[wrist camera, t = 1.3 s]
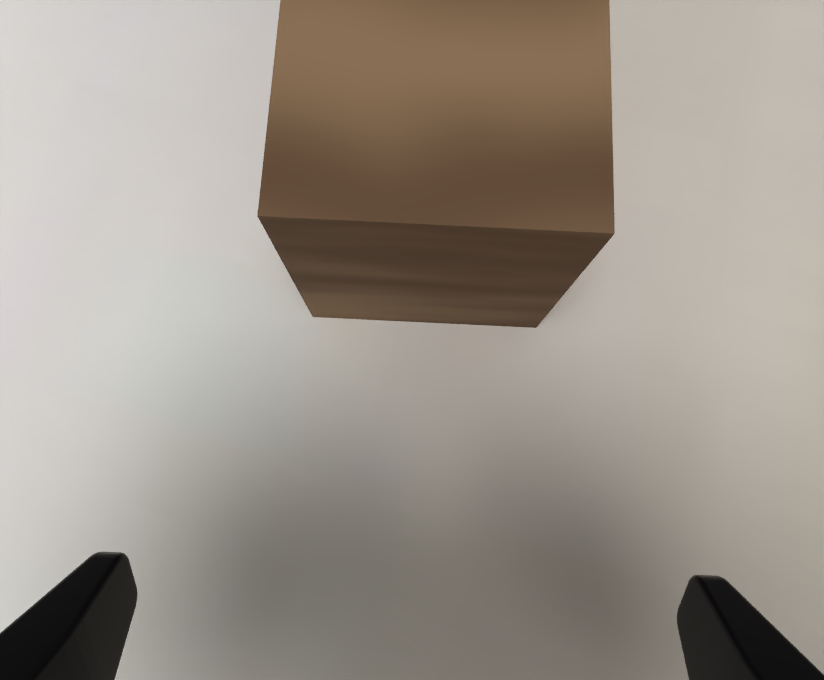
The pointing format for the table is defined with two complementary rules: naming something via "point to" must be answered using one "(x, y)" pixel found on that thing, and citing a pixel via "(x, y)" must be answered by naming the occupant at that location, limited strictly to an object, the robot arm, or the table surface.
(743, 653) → the robot arm
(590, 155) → the walnut block
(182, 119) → the table surface
